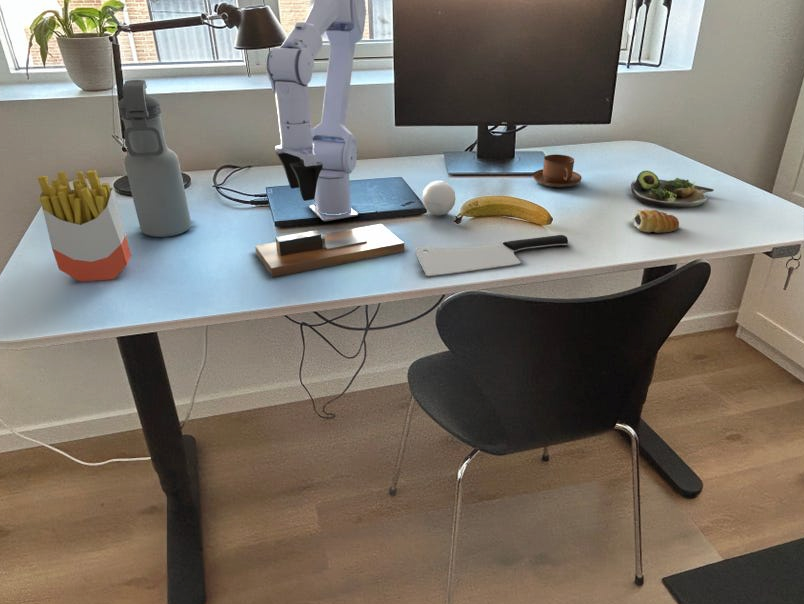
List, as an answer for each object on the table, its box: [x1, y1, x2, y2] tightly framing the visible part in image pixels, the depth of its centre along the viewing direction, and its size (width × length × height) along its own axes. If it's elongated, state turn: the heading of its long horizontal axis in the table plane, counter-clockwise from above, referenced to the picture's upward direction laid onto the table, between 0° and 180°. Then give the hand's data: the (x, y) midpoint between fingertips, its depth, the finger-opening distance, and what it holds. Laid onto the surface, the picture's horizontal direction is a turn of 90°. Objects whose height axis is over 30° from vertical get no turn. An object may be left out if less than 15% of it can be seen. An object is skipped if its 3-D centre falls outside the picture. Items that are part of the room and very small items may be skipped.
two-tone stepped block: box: [275, 229, 367, 256], centre depth 124 cm, size 4×17×3 cm, turn 119°
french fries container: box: [37, 169, 132, 282], centre depth 111 cm, size 5×11×18 cm, turn 102°
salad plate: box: [630, 170, 715, 208], centre depth 157 cm, size 19×18×5 cm
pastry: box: [632, 209, 680, 234], centre depth 140 cm, size 9×7×4 cm
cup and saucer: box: [532, 154, 583, 188], centre depth 163 cm, size 12×12×6 cm
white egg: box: [415, 180, 457, 216], centre depth 143 cm, size 10×7×7 cm
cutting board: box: [254, 223, 405, 278], centre depth 126 cm, size 11×26×2 cm, turn 119°
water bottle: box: [117, 79, 192, 238], centre depth 127 cm, size 10×10×28 cm
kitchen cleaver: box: [415, 234, 569, 277], centre depth 126 cm, size 31×2×10 cm
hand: (302, 193), depth 127 cm, fingers open, 7 cm apart
